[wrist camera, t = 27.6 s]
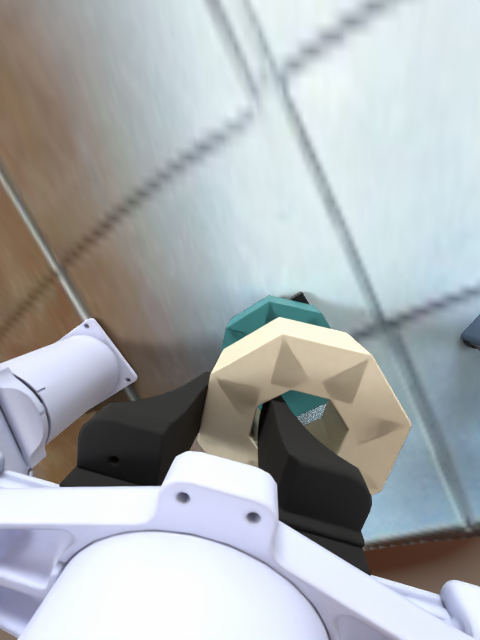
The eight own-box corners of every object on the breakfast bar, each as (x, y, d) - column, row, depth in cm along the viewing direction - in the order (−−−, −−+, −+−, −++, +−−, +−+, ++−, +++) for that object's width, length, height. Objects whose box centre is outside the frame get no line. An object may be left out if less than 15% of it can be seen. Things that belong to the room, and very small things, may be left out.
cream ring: (265, 479, 17) (264, 533, 13) (187, 370, 15) (165, 399, 12) (400, 424, 14) (439, 471, 11) (322, 290, 13) (341, 299, 10)
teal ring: (260, 411, 24) (259, 434, 21) (207, 332, 23) (197, 344, 19) (349, 367, 22) (364, 385, 18) (297, 278, 20) (303, 280, 17)
